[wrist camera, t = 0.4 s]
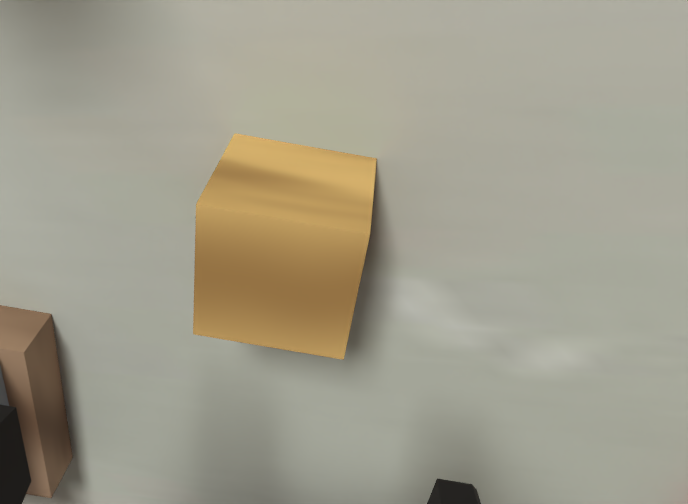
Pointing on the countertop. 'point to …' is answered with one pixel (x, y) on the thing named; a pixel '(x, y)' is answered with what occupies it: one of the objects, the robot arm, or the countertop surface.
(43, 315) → the tower base
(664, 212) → the countertop surface
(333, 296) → the ochre cube
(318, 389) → the countertop surface
